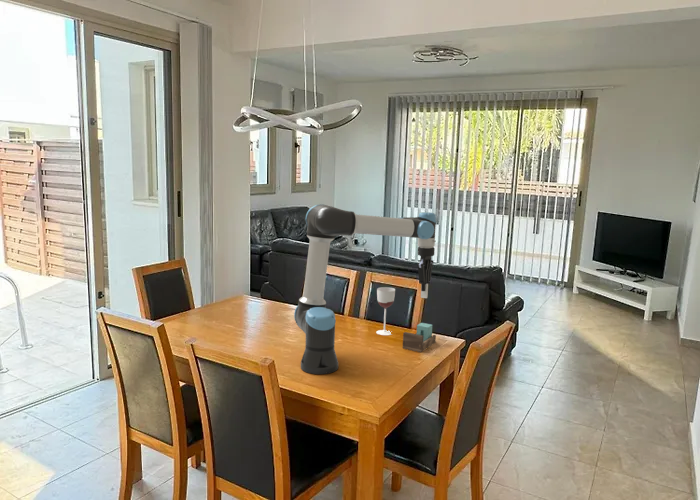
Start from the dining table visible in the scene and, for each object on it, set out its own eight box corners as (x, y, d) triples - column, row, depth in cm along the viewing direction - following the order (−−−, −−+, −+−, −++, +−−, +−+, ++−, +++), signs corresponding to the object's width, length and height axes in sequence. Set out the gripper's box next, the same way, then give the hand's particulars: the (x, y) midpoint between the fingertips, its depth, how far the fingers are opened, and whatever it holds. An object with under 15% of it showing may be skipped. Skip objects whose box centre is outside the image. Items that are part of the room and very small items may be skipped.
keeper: (427, 341, 236) (428, 327, 235) (416, 339, 239) (417, 325, 238) (431, 339, 241) (432, 324, 239) (420, 336, 243) (421, 322, 242)
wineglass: (372, 333, 251) (373, 289, 248) (380, 328, 259) (382, 286, 256) (388, 336, 247) (390, 292, 244) (396, 331, 255) (398, 288, 252)
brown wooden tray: (420, 352, 226) (421, 336, 225) (402, 348, 231) (403, 333, 230) (435, 342, 241) (436, 327, 240) (418, 338, 245) (418, 324, 244)
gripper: (428, 249, 223) (425, 301, 226) (439, 245, 234) (437, 295, 237) (412, 247, 227) (410, 299, 230) (424, 244, 238) (422, 293, 241)
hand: (424, 297), depth 234 cm, fingers closed
